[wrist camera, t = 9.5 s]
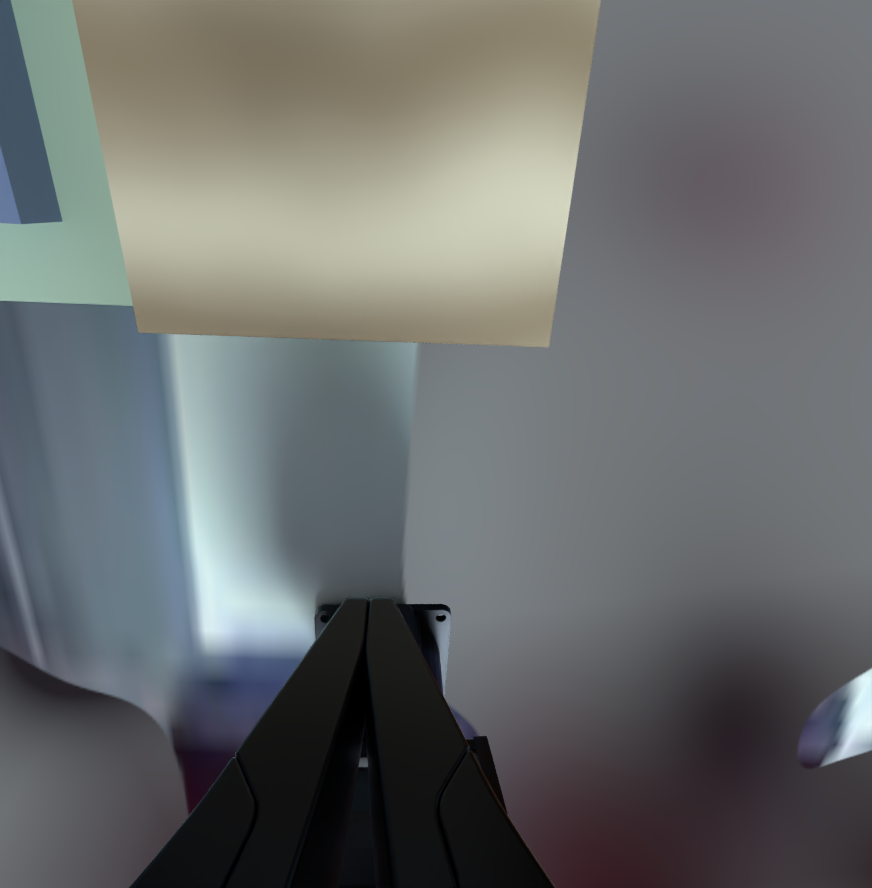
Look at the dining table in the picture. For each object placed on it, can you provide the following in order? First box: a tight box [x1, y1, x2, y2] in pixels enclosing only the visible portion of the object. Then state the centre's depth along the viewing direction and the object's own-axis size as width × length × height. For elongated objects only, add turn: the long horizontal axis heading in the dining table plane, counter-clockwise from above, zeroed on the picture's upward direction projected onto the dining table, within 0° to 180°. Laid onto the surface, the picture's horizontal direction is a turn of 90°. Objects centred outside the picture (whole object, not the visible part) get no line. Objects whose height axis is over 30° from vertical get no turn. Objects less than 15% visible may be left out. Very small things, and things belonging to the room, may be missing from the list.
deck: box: [72, 0, 601, 347], centre depth 14 cm, size 13×12×4 cm
